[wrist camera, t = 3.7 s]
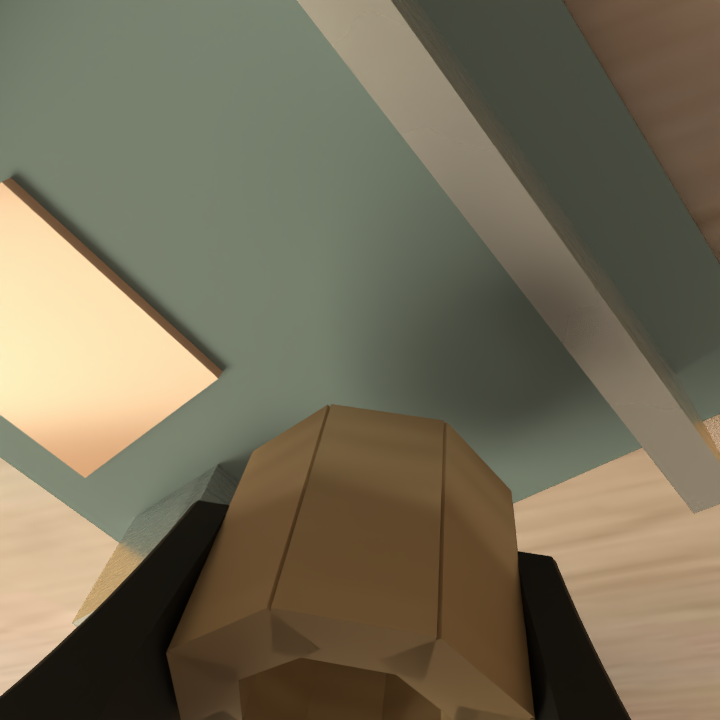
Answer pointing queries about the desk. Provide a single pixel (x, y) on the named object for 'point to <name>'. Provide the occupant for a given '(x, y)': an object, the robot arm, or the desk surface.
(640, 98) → the desk surface
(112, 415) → the pad
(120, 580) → the metal walled tray
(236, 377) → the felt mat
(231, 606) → the oak ring
